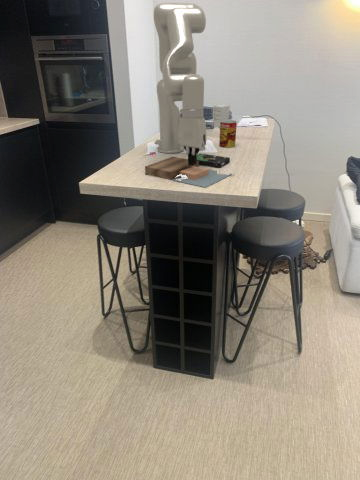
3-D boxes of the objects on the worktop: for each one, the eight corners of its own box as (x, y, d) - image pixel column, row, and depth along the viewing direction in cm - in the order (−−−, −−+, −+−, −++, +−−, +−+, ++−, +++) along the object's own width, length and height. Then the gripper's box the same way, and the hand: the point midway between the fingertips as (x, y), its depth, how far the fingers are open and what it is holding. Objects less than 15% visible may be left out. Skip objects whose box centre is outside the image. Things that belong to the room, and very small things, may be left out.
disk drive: (230, 163, 159) (199, 159, 166) (230, 157, 158) (199, 152, 165) (220, 170, 151) (187, 164, 158) (220, 163, 150) (188, 158, 157)
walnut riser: (145, 174, 145) (144, 166, 143) (173, 163, 158) (172, 156, 156) (172, 179, 138) (171, 172, 137) (198, 168, 151) (198, 161, 150)
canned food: (216, 145, 187) (217, 120, 182) (229, 143, 190) (230, 119, 185) (224, 148, 181) (226, 123, 176) (238, 146, 184) (239, 121, 179)
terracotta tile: (179, 176, 141) (179, 171, 140) (193, 171, 147) (193, 166, 146) (194, 180, 137) (194, 174, 136) (208, 174, 143) (208, 169, 142)
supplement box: (220, 125, 237) (221, 104, 231) (229, 127, 231) (230, 105, 226) (212, 126, 232) (212, 105, 227) (220, 128, 227) (221, 106, 221)
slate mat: (173, 180, 137) (173, 180, 137) (201, 168, 151) (201, 168, 151) (205, 187, 130) (205, 187, 130) (232, 174, 143) (232, 173, 143)
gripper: (169, 113, 134) (170, 163, 142) (204, 117, 126) (203, 170, 135) (181, 110, 139) (182, 159, 148) (216, 114, 132) (214, 165, 140)
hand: (192, 164), depth 141 cm, fingers closed
